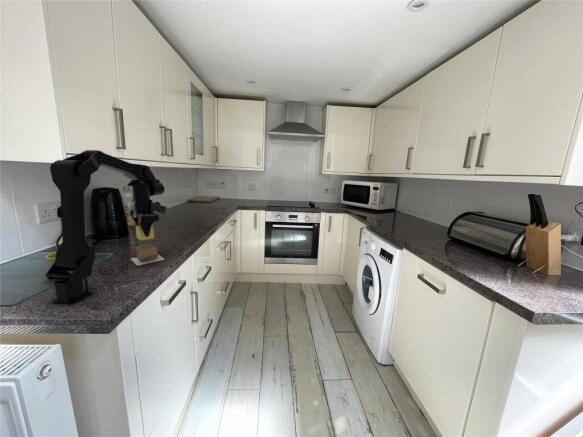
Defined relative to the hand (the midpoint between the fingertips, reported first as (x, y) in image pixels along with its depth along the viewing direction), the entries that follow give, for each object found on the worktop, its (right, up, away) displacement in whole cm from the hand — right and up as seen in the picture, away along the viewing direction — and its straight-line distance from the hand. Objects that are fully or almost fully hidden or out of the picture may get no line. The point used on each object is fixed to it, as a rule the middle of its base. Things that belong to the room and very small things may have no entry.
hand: (145, 235), depth 96 cm
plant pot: (-17, -14, -14) cm, 26 cm away
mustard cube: (0, -1, 0) cm, 1 cm away
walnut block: (0, -10, +2) cm, 10 cm away
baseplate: (0, -11, +2) cm, 11 cm away
